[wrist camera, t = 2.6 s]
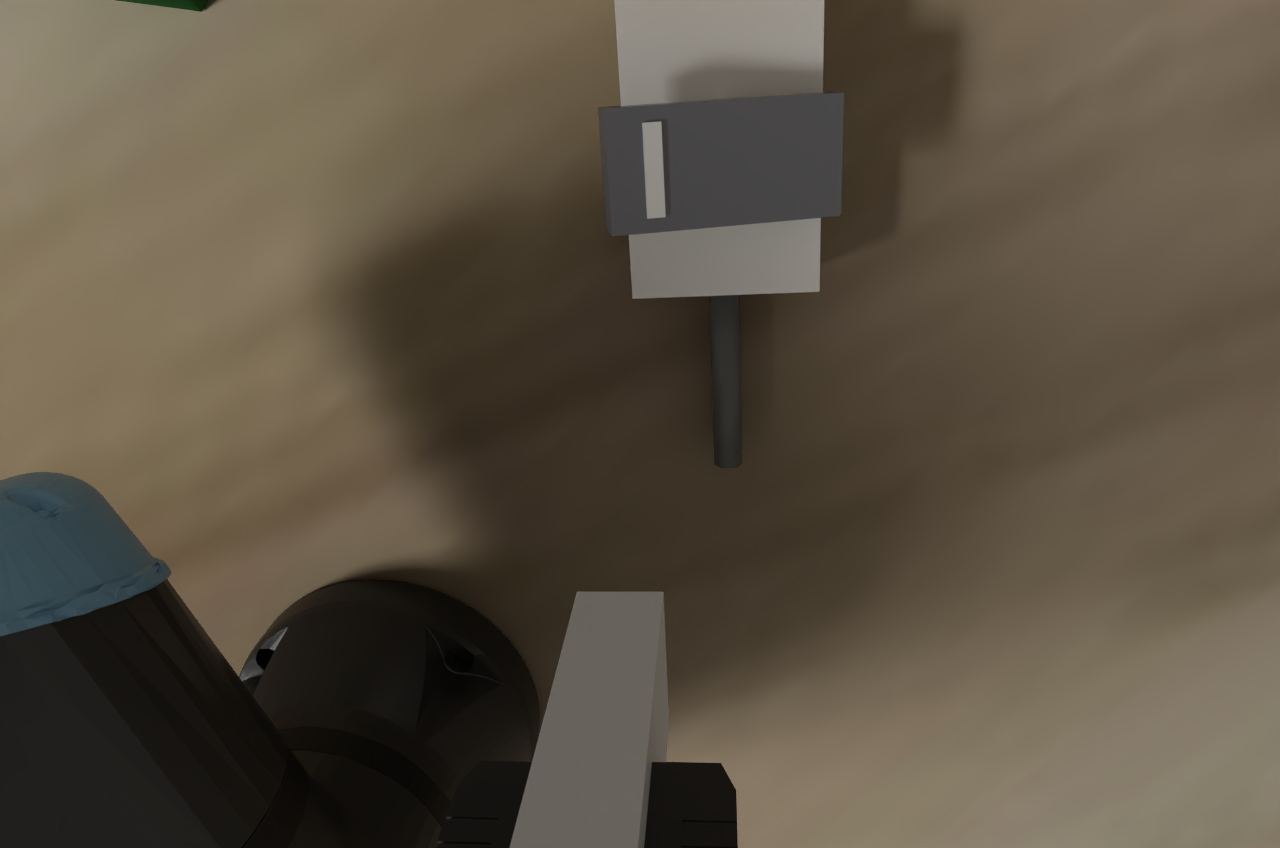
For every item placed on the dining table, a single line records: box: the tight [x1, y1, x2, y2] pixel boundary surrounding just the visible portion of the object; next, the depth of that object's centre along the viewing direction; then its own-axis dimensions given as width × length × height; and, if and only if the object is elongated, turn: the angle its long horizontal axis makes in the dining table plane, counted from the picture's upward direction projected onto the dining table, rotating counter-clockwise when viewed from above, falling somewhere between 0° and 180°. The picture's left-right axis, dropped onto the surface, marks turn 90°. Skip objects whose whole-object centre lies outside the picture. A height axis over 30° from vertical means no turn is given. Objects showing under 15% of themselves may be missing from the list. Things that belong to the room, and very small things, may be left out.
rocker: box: [598, 92, 844, 236], centre depth 30 cm, size 8×4×1 cm, turn 93°
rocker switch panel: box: [614, 0, 824, 468], centre depth 32 cm, size 7×34×5 cm, turn 3°
